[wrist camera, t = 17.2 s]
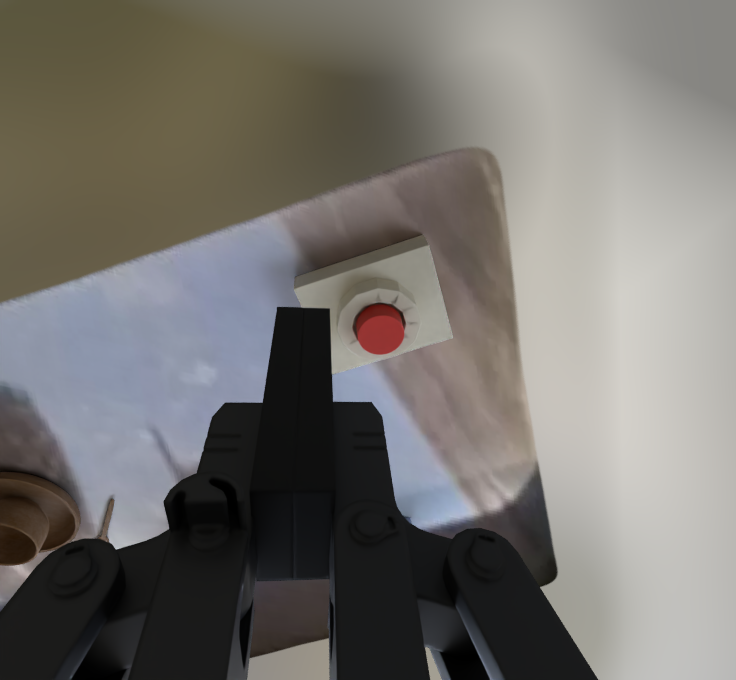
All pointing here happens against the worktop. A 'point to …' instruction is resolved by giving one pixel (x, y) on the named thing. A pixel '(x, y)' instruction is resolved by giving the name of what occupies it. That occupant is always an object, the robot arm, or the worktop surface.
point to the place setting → (36, 517)
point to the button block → (378, 299)
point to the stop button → (380, 329)
